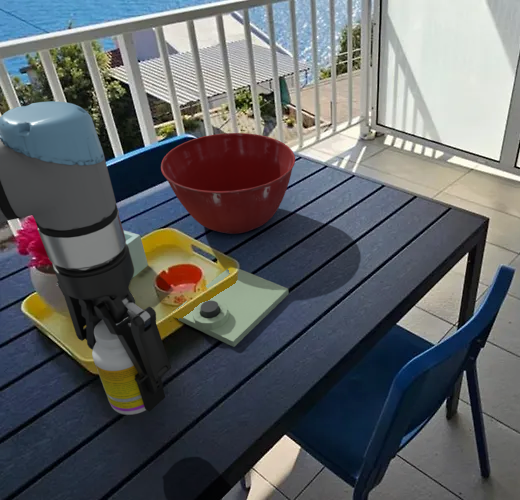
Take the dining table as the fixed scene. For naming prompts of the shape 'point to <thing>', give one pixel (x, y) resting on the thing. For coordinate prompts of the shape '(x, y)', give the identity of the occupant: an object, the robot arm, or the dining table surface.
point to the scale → (237, 307)
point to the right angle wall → (136, 251)
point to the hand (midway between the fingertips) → (135, 391)
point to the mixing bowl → (230, 179)
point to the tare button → (209, 309)
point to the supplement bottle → (116, 372)
